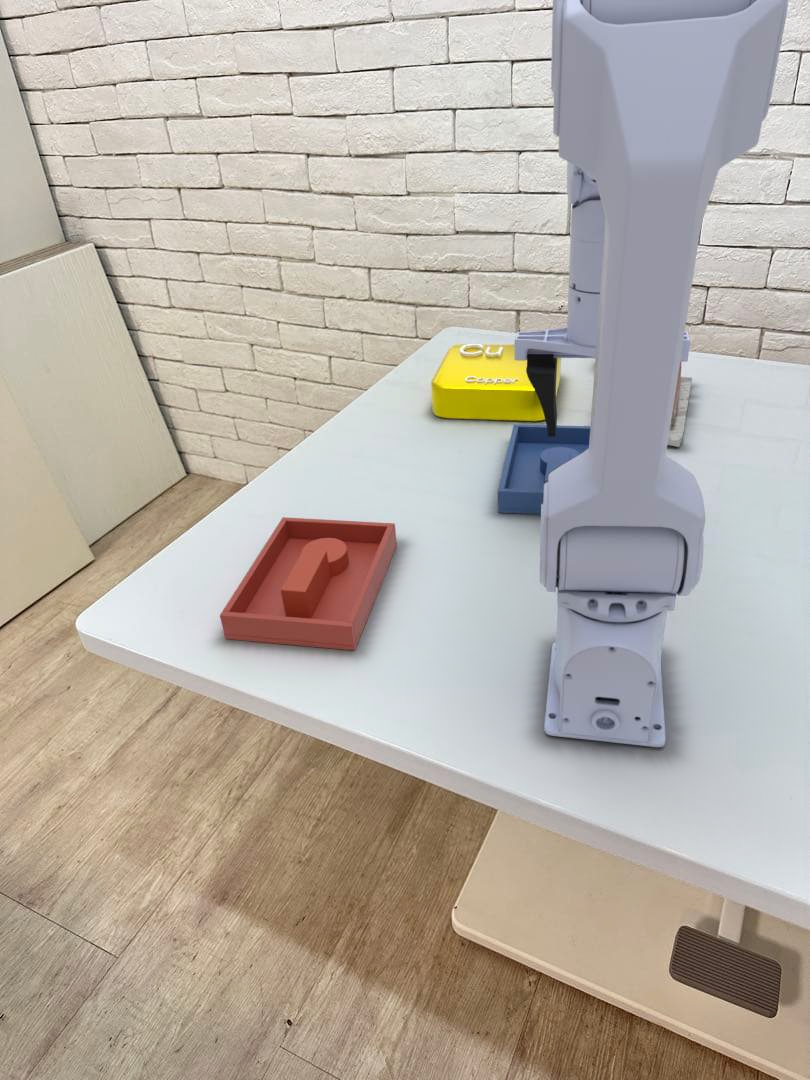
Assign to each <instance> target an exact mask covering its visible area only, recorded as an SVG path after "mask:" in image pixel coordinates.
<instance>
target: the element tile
mask: <svg viewBox="0 0 810 1080" xmlns="http://www.w3.org/2000/svg"><path fill="white" fill-rule="evenodd" d="M561 367H562V358H557V374H556V397H557V396H558V390H559V387H560V381H561ZM526 368H527V360H524V361H523V360H515V344H480V343H467V344H465V343H464V344H463V343H462V344H461V343H459V344H455V345H452V346H451V347H450V348H449V349H448V350H447V351H446V354H445V355H444V357H443V359H442V361H441V363H440V364H439V366H438V368H437V370H436V372H435V374H434V376H433V378H432V380H431V383H430V387H431V388H430V390H431V403H432V412H433V414H434V415H435V416H436V417H438V418H442V419H450V420H451V419H453V420H454V419H455V420H480V421H481V420H485V421H487V420H488V421H512V422H513V421H517V422H540V421H541V422H542V421H546V420H545V416H544V413H543V409H542V406H541V404H540V401H539V398H538V396H537V394H536V392H535V390H534V388H533V386H532V384H531V382H530V381H529V379H528V376H527V373H526Z"/></svg>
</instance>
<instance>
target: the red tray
mask: <svg viewBox="0 0 810 1080" xmlns="http://www.w3.org/2000/svg"><path fill="white" fill-rule="evenodd" d="M321 538H335V539H339V540H341V541H343V542H344V543H345V544H346V546H347V552H348V559H349V564H348V566H347V568H346V569H345V570H344V571H343V572H341V573H339V574H337V575H335V576H331V579H330V581H329V583H328V585H327V587H326V589H325V591H324V593H323V595H322V597H321V599H320V601H319V603H318V605H317V607H316V609H315V611H314V613H313V615H312V617H311V619H309V618H297V617H286V615H285V610H284V605H283V600H282V595H281V588H282V586H283V585H284V583H285V581H286V579H287V578H288V576H289V574H290V572H291V571H292V569H293V567H294V565H295V564H296V562H297V560H298V558H299V556H300V555H301V551H302V549H303V547H304V546H305V545H306V544H308V543H310V542H311V541H314V540H317V539H321ZM397 546H398V542H397V532H396V523H394V522H377V521H376V522H375V521H356V520H342V519H341V520H339V519H322V518H321V519H320V518H302V517H284V516H283V517H282V518H281V519H280V521H279V522H278V524H277V526H276V527H275V529H273V532H272V533H271V535H270V537H269V538H267V541H266V542H265V544H264V546H263V547H262V549H261V550H260V552H259V553H258V555H257V556H256V558H255V559H254V561H253V562H252V564H251V566H250V567H249V569H248V571H247V572H246V574H245V575H244V576H243V579H242V580H241V582H240V583H239V584H238V586H237V587H236V589H235V590H234V592H233V593H232V596H231V597H230V598H229V600H228V602H227V603H226V605H225V606H224V608H223V609H222V611H221V612H220V614H219V618H220V622H221V627H222V630H223V634H224V638H225V640H227V639H228V640H235V641H245V642H246V641H247V642H256V643H267V644H268V643H269V644H277V645H278V644H279V645H290V646H300V647H302V646H303V647H311V648H322V649H334V650H342V651H343V650H344V651H356V649H357V646H358V643H359V641H360V638H361V636H362V633H363V631H364V628H365V626H366V624H367V621H368V618H369V616H370V614H371V611H372V608H373V606H374V604H375V601H376V598H377V596H378V594H379V591H380V588H381V586H382V585H383V584H382V583H383V581H384V579H385V576H386V573H387V571H388V569H389V566H390V564H391V561H392V559H393V556H394V554H395V551H396V549H397Z"/></svg>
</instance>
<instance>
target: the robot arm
mask: <svg viewBox="0 0 810 1080" xmlns="http://www.w3.org/2000/svg"><path fill="white" fill-rule="evenodd" d="M788 6H789V0H552V19H551V22H552V23H551V24H552V25H551V67H550V69H551V70H550V71H551V72H550V79H551V80H550V90H551V92H552V93H553V109H552V110H553V115H552V116H553V118H552V119H553V120H552V121H553V123H552V132H553V133H552V134H554V136H555V137H557V138H558V156H559V158H560V159H562V160H564V161H566V162H567V163H566V194H567V199H568V204H569V206H570V205H571V215H570V238H569V239H570V241H569V263H568V264H569V269H568V291H567V292H568V294H567V317H566V318H567V319H566V327H560V328H553V329H552V328H551V329H543V330H536V331H517V332H515V333H516V334H515V337H514V345H515V360H523V361H524V360H527V368H526V373H527V376H528V379H529V381H530V382H531V384H532V386H533V388H534V390H535V392H536V394H537V396H538V398H539V401H540V404H541V406H542V409H543V413H544V416H545V420H544V421H545V425H547V433H548V436H549V437H555V435H556V427H557V424H558V423H557V421H558V413H557V412H558V411H557V410H558V409H557V408H558V407H557V396H556V374H557V358H561V359H594V372H593V385H592V396H591V397H592V400H591V410H590V411H591V413H590V425H589V426H590V439H589V448H588V449H587V450H586V451H585V452H583V453H582V454H580V455H579V456H577V457H575V458H574V459H572V460H570V461H568V462H567V463H565V464H563V465H562V466H560V467H559V468H557V469H556V470H554V471H552V472H551V473H550V474H549V475H548V482H546V483H545V484H544V497H543V504H542V505H541V515H540V534H539V535H540V539H539V540H540V541H539V544H540V545H539V584H540V585H541V586H542V587H544V588H545V590H546V592H547V593H556V598H557V599H556V600H557V601H556V604H557V607H556V608H557V610H556V633H555V635H556V636H555V641H554V642H553V643H552V645H551V652H550V653H551V654H550V664H549V665H550V666H549V675H548V683H547V692H546V693H547V694H546V704H545V714H544V724H543V731H544V733H545V734H546V735H548V736H551V737H552V736H553V737H561V738H568V739H569V738H570V739H577V740H578V739H580V740H587V741H597V742H607V743H615V744H626V745H634V746H641V747H642V746H643V747H651V748H663V747H664V746H665V745H666V739H667V738H666V737H667V736H666V721H665V720H666V719H665V709H664V693H663V691H664V690H663V678H662V676H663V675H662V662H661V661H662V659H661V658H662V651H663V644H664V637H665V629H666V622H667V615H668V612H673V611H675V606H676V601H677V600H676V599H677V596H679V597H687V596H689V595H690V594H691V592H692V591H694V589H695V588H697V586H698V584H699V583H700V579H701V575H702V571H703V562H704V561H703V560H704V533H705V532H704V531H705V527H706V526H705V525H706V509H705V508H706V507H705V502H704V497H703V492H702V489H701V487H700V485H699V484H698V481H697V479H696V476H695V475H694V474H693V473H692V472H691V471H690V470H688V469H687V468H685V467H684V466H683V465H681V464H679V462H677V461H675V460H674V459H672V458H671V457H669V455H667V450H668V445H667V444H668V438H669V431H670V425H671V418H672V412H673V405H674V398H675V392H676V385H677V379H678V372H679V366H680V362H681V363H683V362H686V363H687V362H688V361H689V354H690V347H691V346H690V345H691V338H690V333H689V332H688V331H686V327H687V326H686V325H687V318H688V313H689V306H690V300H691V293H692V286H693V282H694V281H693V279H694V274H695V267H696V261H697V256H698V255H697V254H698V246H699V242H700V234H701V230H702V225H703V221H704V218H705V215H706V211H707V208H708V205H709V202H710V199H711V196H712V193H713V189H714V187H715V183H716V180H717V177H718V174H719V171H720V170H721V169H722V168H723V167H724V166H726V165H728V164H730V163H731V162H733V161H734V160H736V159H737V158H739V157H741V156H742V155H744V154H745V153H747V152H749V151H750V150H752V149H753V148H755V147H756V146H757V145H758V143H759V140H760V134H761V129H762V124H763V122H764V121H765V119H766V118H767V116H768V113H769V109H770V103H771V100H772V94H773V90H774V89H773V88H774V83H775V78H776V73H777V67H778V61H779V57H780V51H781V46H782V41H783V35H784V30H785V25H786V20H787V15H788Z"/></svg>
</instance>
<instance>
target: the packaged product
mask: <svg viewBox="0 0 810 1080" xmlns="http://www.w3.org/2000/svg"><path fill="white" fill-rule="evenodd" d="M692 378H693V377H687V376H686V377H685V376H682V362H680V366H679V372H678V379H677V385H676V392H675V398H674V405H673V412H672V418H671V425H670V431H669V438H668V444H667V446H672V447H677V448H680V446H681V443H682V439H683V434H684V430H685V425H686V418H687V410H688V407H689V398H690V395H691V388H692V382H693V379H692Z"/></svg>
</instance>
